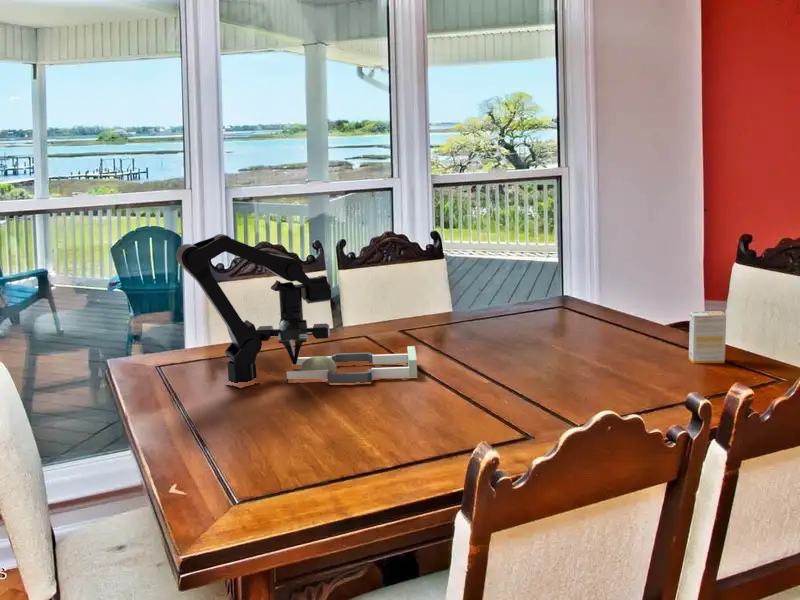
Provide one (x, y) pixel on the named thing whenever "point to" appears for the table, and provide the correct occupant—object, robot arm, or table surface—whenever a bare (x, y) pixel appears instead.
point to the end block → (412, 361)
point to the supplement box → (707, 337)
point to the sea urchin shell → (319, 364)
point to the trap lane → (356, 376)
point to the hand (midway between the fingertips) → (294, 364)
